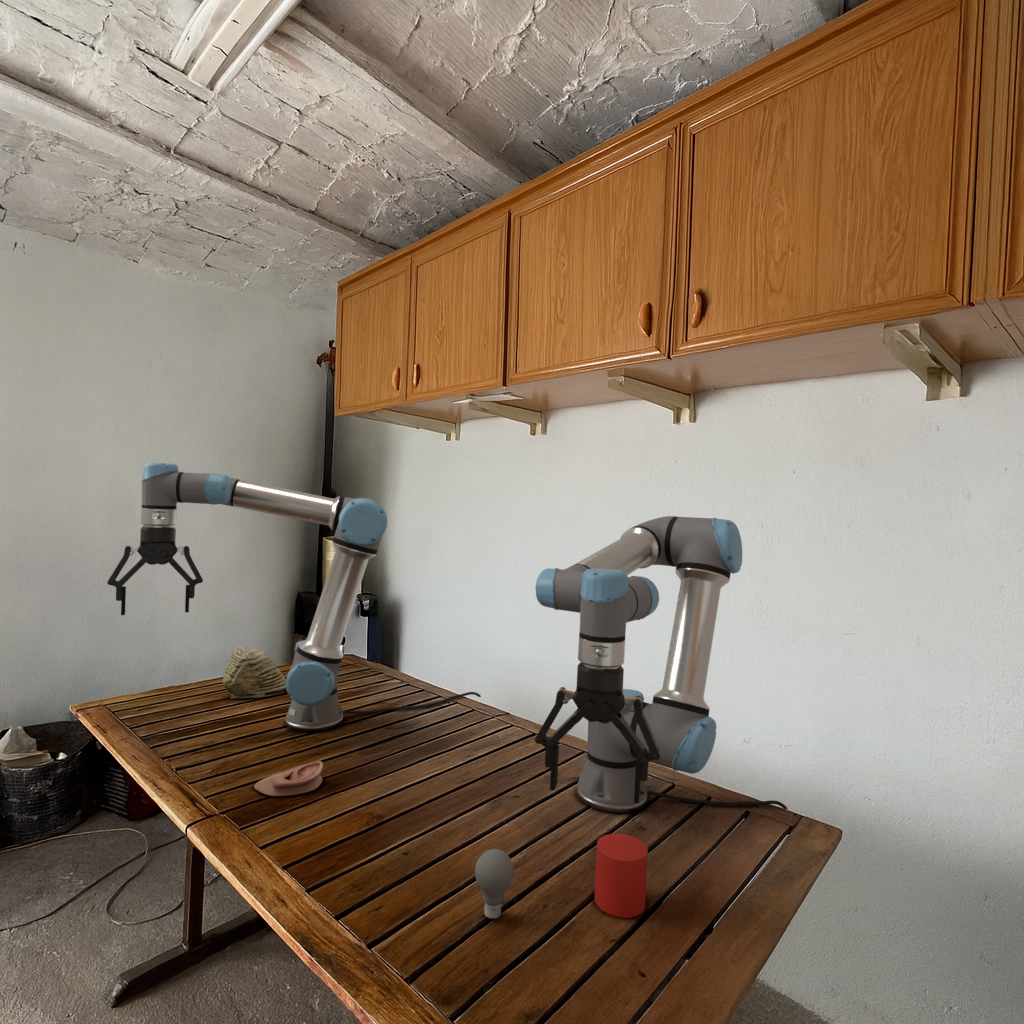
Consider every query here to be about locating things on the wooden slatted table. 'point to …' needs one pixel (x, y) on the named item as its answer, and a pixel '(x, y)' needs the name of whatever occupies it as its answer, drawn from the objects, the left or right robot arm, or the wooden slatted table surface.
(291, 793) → the anatomical model
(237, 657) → the fossil
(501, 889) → the light bulb
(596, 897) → the canister
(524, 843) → the wooden slatted table surface
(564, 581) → the right robot arm
